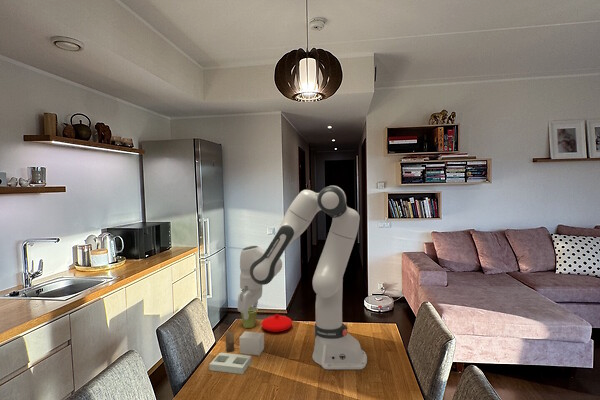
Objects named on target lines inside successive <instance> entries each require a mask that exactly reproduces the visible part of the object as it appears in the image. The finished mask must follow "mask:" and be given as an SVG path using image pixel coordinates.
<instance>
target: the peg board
mask: <svg viewBox="0 0 600 400" xmlns="http://www.w3.org/2000/svg"><path fill="white" fill-rule="evenodd" d="M251 363H252V355H249V354H240V353H239V354H237V353H230V352H227V353H226V352H219V353H218V354H217V355H216V356H215V357H214V359H212V360H211V362H210V363H209V364H208V365H209V371H212V372H213V371H215V372H219V373H220V372H222V373H230V374H238V375H244V373H245V372H246V371H247V369H248V368H249V366H250V364H251Z"/></svg>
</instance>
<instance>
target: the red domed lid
mask: <svg viewBox="0 0 600 400" xmlns="http://www.w3.org/2000/svg"><path fill="white" fill-rule="evenodd" d="M260 325H261V327H262V329H263V330H266V331H268V332H273V333H279V332H283V331H286V330H289V329H290V328H291V327H292V326H293V320H292V319H291V318H290V317H288V316H285V315H280V314H278V313H275V314H274V315H272V316H268V317H266V318H264V319H263V320H262V321H261V324H260Z"/></svg>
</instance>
